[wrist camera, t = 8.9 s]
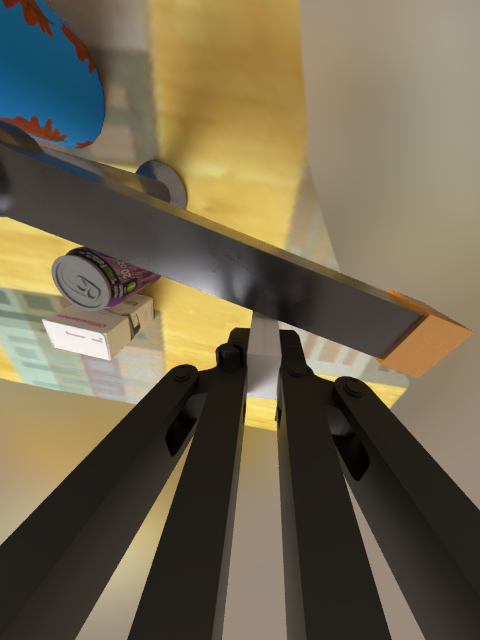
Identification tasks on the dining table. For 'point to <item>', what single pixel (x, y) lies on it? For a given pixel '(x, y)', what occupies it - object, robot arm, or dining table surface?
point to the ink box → (99, 327)
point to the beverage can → (98, 279)
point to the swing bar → (218, 259)
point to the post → (136, 177)
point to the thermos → (47, 76)
